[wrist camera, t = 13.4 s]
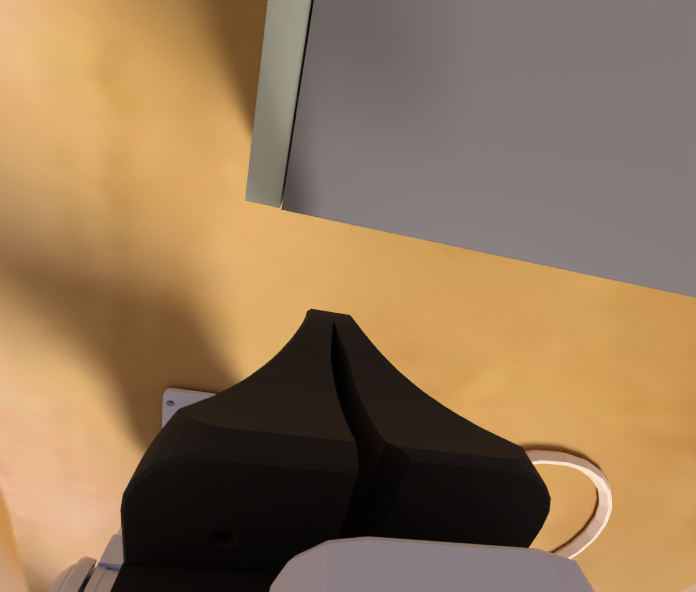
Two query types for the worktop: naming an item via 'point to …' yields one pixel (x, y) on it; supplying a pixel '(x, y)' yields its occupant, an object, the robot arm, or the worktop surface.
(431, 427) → the robot arm
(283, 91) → the drawer tray
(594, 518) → the hand towel holder
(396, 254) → the worktop surface
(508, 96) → the block
